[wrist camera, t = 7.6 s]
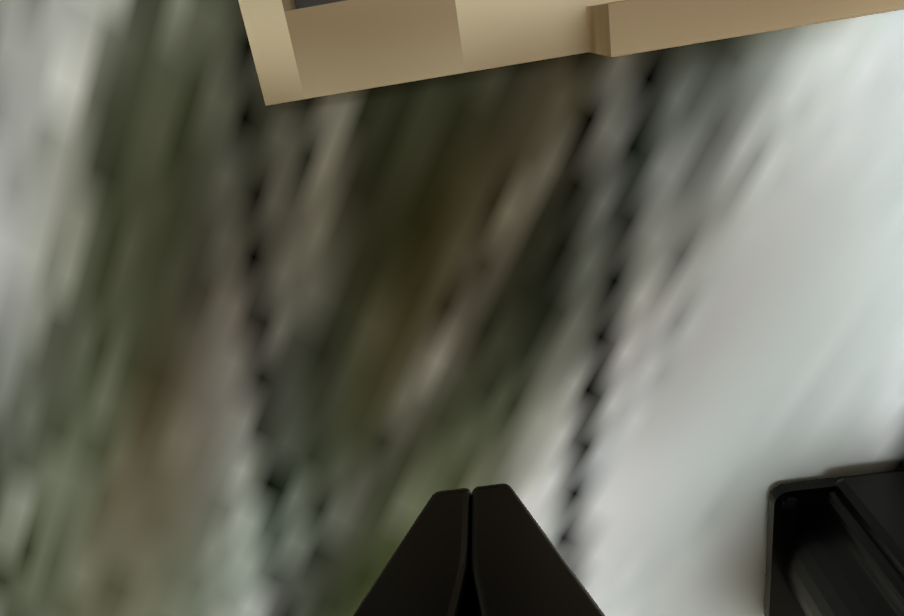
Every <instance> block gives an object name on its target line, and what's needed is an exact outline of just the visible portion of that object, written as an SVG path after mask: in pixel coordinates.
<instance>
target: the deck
mask: <svg viewBox="0 0 904 616" xmlns="http://www.w3.org/2000/svg"><path fill="white" fill-rule="evenodd" d="M238 1H239V5H240V9H241V13H242V17H243V21H244V24H245V28H246V32H247V36H248V40H249V44H250V47H251V51H252V55H253V59H254V63H255V67H256V71H257V74H258V78H259V82H260V86H261V90H262V94H263V97H264V101H265V105H266V106H267V105H273V104H279V103H285V102H291V101H297V100H303V99H309V98H315V97H321V96H327V95H333V94H339V93H345V92H351V91H357V90H363V89H370V88H376V87H382V86H388V85H394V84H400V83H406V82H412V81H418V80H424V79H430V78H436V77H442V76H448V75H454V74H460V73H466V72H472V71H478V70H484V69H490V68H496V67H502V66H508V65H514V64H520V63H527V62H533V61H539V60H545V59H551V58H557V57H563V56H569V55H575V54H581V53H587V52H591V53H595V54H599V55H604V56H608V57H617V56H623V55H629V54H635V53H641V52H647V51H653V50H659V49H665V48H671V47H677V46H683V45H689V44H696V43H702V42H708V41H714V40H720V39H726V38H732V37H738V36H744V35H750V34H756V33H762V32H768V31H775V30H781V29H787V28H793V27H799V26H805V25H811V24H817V23H823V22H829V21H835V20H841V19H847V18H854V17H860V16H866V15H872V14H878V13H884V12H890V11H896V10H902V9H904V0H238Z"/></svg>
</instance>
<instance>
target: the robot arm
mask: <svg viewBox="0 0 904 616" xmlns="http://www.w3.org/2000/svg"><path fill="white" fill-rule="evenodd" d="M788 497H791V498H790V499H788V500H786V501H783V500H784V499H786V498H788ZM764 615H765V616H904V470H898V471H890V472H881V473H872V474H863V475H855V476H846V477H837V478H829V479H820V480H811V481H802V482H794V483H785V484H781V485H778V486H777V487H775V488H774V489H773V490H772V491H771V492H770V496H769V513H768V536H767V559H766V582H765V605H764ZM353 616H605V615H604V613H603V612H602V611H601V609H600V608H599V607H598V605H597V604H596V603H595V601H594V600H593V598H592V597H591V596H590V594H589V593H588V592H587V590H586V589H585V588H584V586H583V585H582V583H581V582H580V581H579V579H578V578H577V577H576V575H575V574H574V572H573V571H572V570H571V568H570V567H569V566H568V564H567V563H566V562H565V560H564V559H563V557H562V556H561V555H560V553H559V552H558V551H557V549H556V548H555V547H554V545H553V544H552V542H551V541H550V540H549V538H548V537H547V536H546V534H545V533H544V532H543V530H542V529H541V527H540V526H539V525H538V523H537V522H536V521H535V519H534V518H533V517H532V515H531V514H530V512H529V511H528V510H527V508H526V507H525V506H524V504H523V503H522V501H521V500H520V499H519V497H518V496H517V495H516V493H515V492H514V491H513V489H512V488H511V487H510V486H509V485H507V484H496V485H487V486H479V487H476V488H475V489H474V490H473V492H472V493H471V491H470V490H469V489H467V488H462V489H454V490H445V491H439V492H436V493H435V494H433V495H432V497H431V498H430V500H429V501H428V503H427V504H426V506H425V507H424V509H423V510H422V512H421V513H420V515H419V516H418V518H417V519H416V521H415V522H414V524H413V525H412V527H411V529H410V530H409V532H408V533H407V535H406V536H405V538H404V539H403V541H402V542H401V544H400V545H399V547H398V548H397V550H396V551H395V553H394V554H393V556H392V557H391V559H390V560H389V562H388V563H387V565H386V566H385V568H384V569H383V571H382V572H381V574H380V575H379V577H378V578H377V580H376V581H375V583H374V584H373V586H372V588H371V589H370V591H369V592H368V594H367V595H366V597H365V598H364V600H363V601H362V603H361V604H360V606H359V607H358V609H357V610H356V612H355V613H354V615H353Z"/></svg>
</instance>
